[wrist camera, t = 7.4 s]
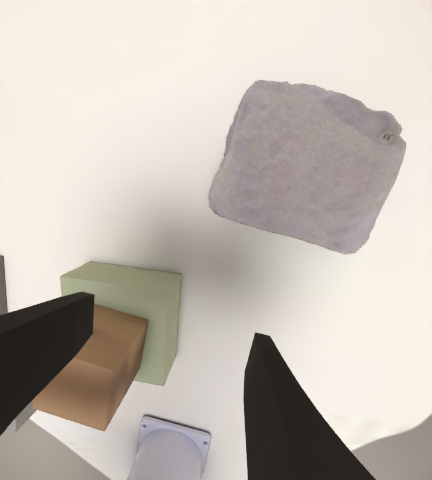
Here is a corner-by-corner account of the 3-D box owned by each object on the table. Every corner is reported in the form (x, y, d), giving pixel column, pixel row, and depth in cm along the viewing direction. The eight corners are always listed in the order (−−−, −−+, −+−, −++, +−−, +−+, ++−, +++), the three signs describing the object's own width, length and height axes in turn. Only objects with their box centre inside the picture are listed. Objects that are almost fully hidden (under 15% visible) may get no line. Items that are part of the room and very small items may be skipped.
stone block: (237, 99, 18) (205, 216, 19) (243, 53, 13) (199, 212, 14) (377, 137, 18) (340, 254, 18) (434, 104, 13) (382, 263, 14)
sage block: (177, 352, 23) (163, 386, 19) (96, 338, 24) (68, 367, 20) (182, 272, 20) (168, 292, 17) (93, 260, 21) (60, 276, 17)
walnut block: (139, 368, 19) (104, 431, 14) (85, 352, 19) (32, 408, 14) (148, 319, 17) (113, 370, 13) (90, 302, 18) (34, 345, 13)
